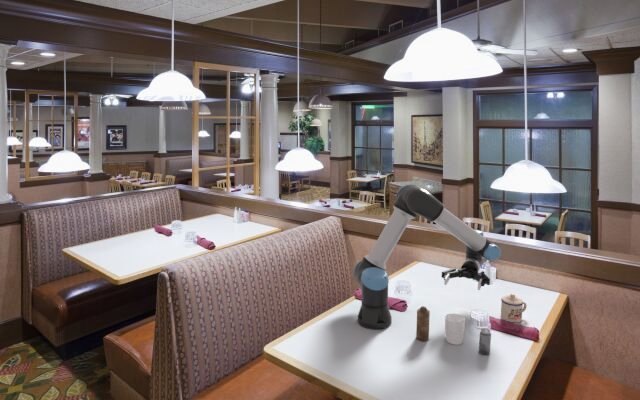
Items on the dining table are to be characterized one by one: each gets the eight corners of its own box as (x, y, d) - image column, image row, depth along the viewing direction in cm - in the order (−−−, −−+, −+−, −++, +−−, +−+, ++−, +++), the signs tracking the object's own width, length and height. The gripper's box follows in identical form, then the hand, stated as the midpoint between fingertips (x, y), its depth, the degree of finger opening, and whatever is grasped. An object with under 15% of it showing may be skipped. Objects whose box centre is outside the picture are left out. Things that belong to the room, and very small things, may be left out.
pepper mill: (414, 339, 171) (415, 307, 169) (418, 334, 176) (419, 303, 173) (426, 342, 169) (428, 310, 167) (430, 336, 173) (431, 305, 171)
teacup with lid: (508, 324, 183) (510, 299, 181) (495, 315, 192) (497, 291, 189) (532, 321, 186) (534, 296, 183) (518, 312, 194) (520, 288, 192)
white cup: (465, 346, 166) (466, 323, 164) (445, 344, 167) (446, 321, 165) (463, 336, 173) (464, 314, 171) (443, 334, 175) (444, 312, 173)
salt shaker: (477, 353, 160) (479, 331, 159) (479, 348, 164) (480, 327, 162) (489, 356, 159) (490, 334, 157) (490, 351, 162) (491, 329, 160)
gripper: (498, 280, 190) (492, 298, 171) (442, 272, 201) (431, 287, 183) (499, 264, 188) (493, 280, 170) (443, 257, 200) (432, 271, 182)
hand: (461, 284), depth 176 cm, fingers open, 13 cm apart
